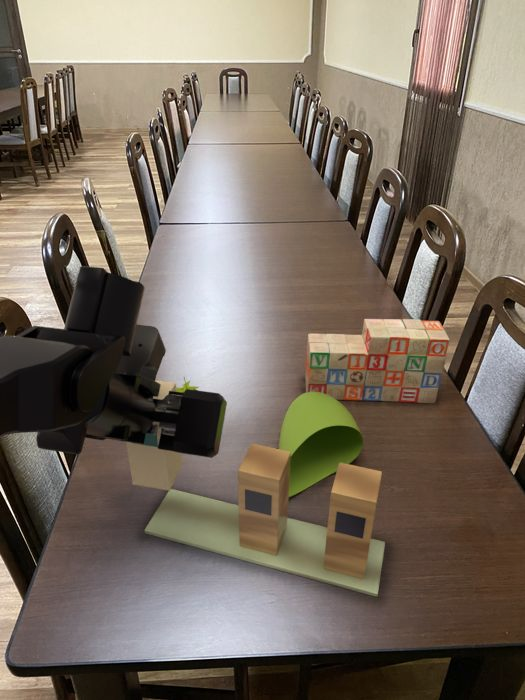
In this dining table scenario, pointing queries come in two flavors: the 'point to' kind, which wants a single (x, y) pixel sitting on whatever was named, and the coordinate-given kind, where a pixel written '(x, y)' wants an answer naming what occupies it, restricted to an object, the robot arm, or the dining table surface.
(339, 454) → the green curved shell
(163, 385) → the tall cream block
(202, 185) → the dining table surface
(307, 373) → the stack of blocks
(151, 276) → the dining table surface
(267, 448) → the block line
